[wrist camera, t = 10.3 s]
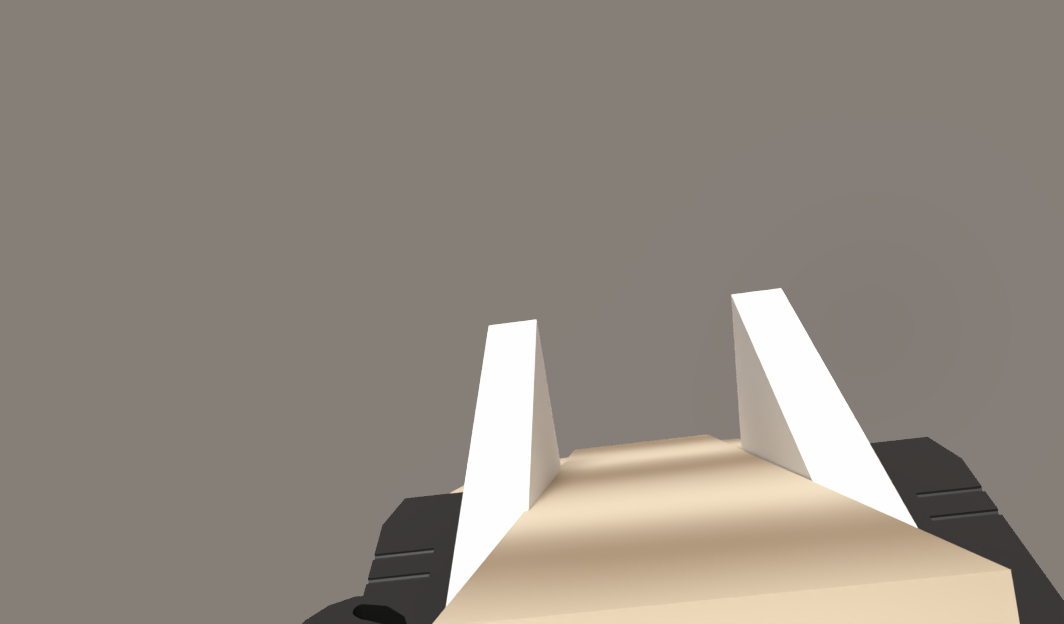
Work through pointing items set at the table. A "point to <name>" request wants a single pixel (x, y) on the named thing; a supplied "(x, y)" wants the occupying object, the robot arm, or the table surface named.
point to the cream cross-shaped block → (718, 550)
